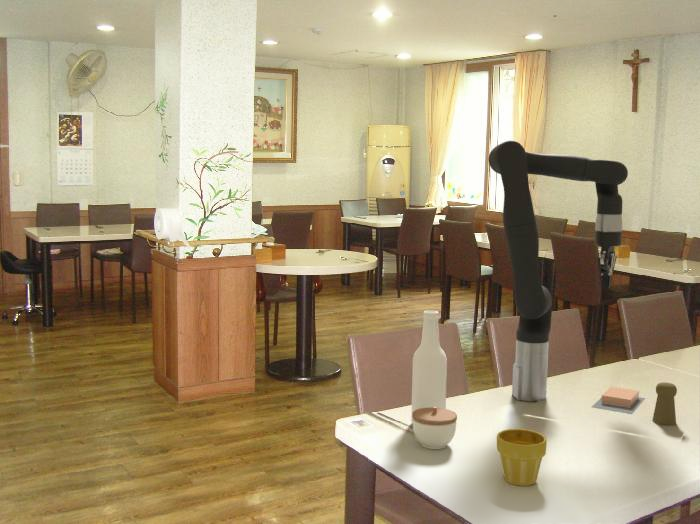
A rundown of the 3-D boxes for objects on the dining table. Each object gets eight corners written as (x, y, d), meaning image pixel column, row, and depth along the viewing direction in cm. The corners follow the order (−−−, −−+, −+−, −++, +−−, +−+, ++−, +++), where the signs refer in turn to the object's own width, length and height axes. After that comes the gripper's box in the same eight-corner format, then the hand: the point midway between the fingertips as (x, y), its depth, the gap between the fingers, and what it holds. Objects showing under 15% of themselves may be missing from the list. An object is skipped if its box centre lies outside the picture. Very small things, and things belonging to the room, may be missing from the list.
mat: (631, 415, 213) (631, 413, 213) (591, 408, 219) (591, 407, 219) (645, 399, 228) (645, 398, 228) (606, 393, 234) (606, 392, 234)
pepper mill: (678, 428, 203) (681, 387, 202) (654, 426, 204) (656, 385, 203) (673, 421, 209) (676, 381, 208) (650, 419, 210) (652, 379, 209)
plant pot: (500, 489, 162) (502, 444, 161) (491, 470, 173) (492, 428, 171) (550, 490, 162) (552, 445, 161) (538, 471, 173) (539, 428, 171)
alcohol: (407, 427, 201) (409, 312, 197) (416, 417, 209) (418, 307, 205) (440, 432, 198) (443, 315, 194) (448, 421, 206) (451, 309, 202)
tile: (630, 399, 218) (639, 390, 227) (601, 395, 222) (610, 386, 232) (630, 408, 218) (638, 398, 228) (601, 403, 222) (610, 394, 232)
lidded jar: (403, 440, 191) (404, 403, 190) (441, 435, 195) (442, 398, 194) (425, 455, 181) (426, 416, 180) (464, 449, 186) (465, 411, 184)
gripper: (601, 227, 237) (599, 284, 239) (589, 230, 226) (587, 289, 228) (627, 228, 233) (624, 286, 235) (616, 231, 222) (613, 291, 224)
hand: (606, 287), depth 232 cm, fingers closed
